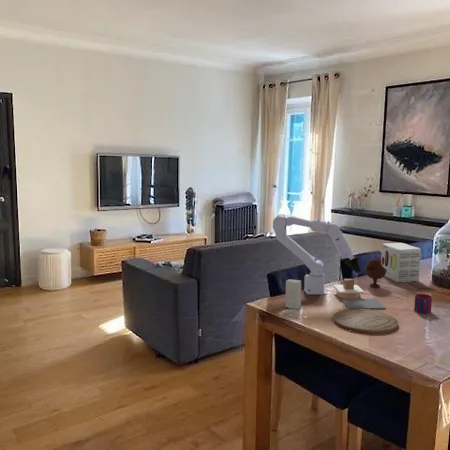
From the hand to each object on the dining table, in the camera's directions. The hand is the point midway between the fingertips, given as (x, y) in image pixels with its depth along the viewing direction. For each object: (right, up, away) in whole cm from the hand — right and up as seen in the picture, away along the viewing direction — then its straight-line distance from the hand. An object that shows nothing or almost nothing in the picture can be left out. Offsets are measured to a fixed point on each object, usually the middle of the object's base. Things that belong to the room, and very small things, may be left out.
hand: (356, 270), depth 221 cm
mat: (0, -14, -12) cm, 18 cm away
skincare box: (-32, -15, -16) cm, 39 cm away
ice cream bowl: (+14, -10, +16) cm, 24 cm away
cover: (-4, -9, 0) cm, 10 cm away
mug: (+22, -16, -22) cm, 35 cm away
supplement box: (+33, -8, +33) cm, 48 cm away
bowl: (-4, -12, +1) cm, 13 cm away
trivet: (-6, -18, -34) cm, 39 cm away
